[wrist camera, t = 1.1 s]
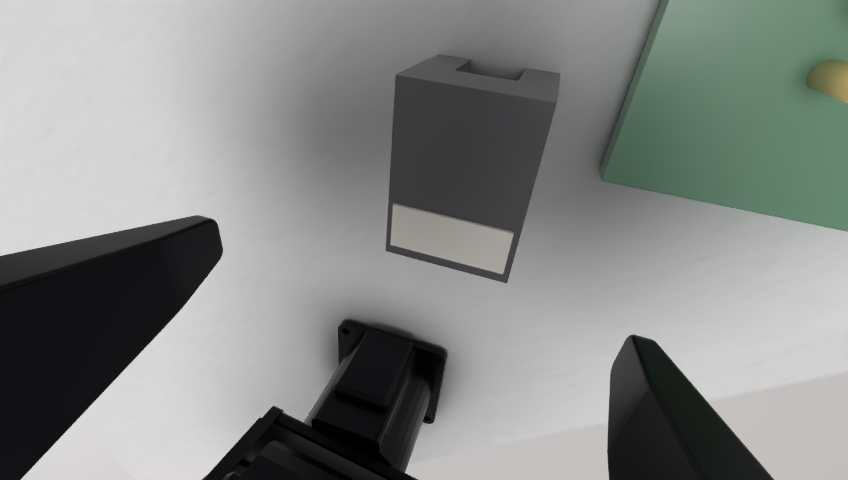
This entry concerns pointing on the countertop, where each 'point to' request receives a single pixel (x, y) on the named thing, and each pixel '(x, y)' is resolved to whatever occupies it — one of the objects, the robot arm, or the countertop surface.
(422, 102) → the plug
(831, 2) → the header board
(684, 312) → the countertop surface
